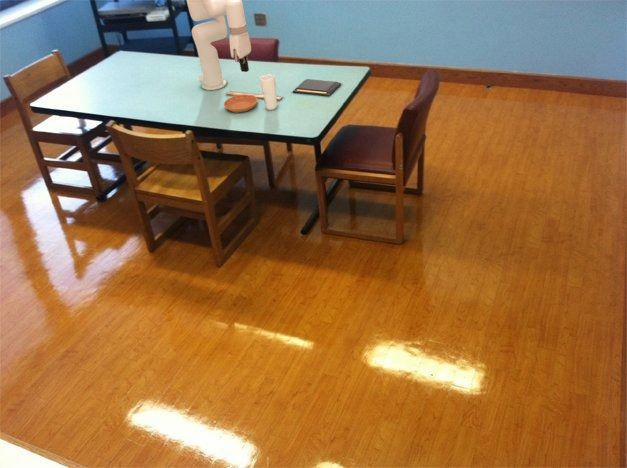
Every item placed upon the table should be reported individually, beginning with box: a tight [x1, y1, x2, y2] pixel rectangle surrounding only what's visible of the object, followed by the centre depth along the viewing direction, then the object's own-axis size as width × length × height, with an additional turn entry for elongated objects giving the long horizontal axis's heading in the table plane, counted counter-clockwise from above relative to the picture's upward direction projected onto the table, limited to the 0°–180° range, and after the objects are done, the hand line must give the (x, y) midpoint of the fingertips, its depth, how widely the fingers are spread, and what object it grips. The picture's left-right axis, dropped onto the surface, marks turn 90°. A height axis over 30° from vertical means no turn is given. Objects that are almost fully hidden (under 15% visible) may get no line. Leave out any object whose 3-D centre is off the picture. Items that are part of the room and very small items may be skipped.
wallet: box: [292, 78, 342, 97], centre depth 293 cm, size 20×2×15 cm
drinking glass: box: [259, 74, 278, 111], centre depth 276 cm, size 7×7×15 cm
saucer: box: [223, 95, 259, 114], centre depth 284 cm, size 16×16×3 cm
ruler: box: [226, 90, 283, 102], centre depth 293 cm, size 30×3×1 cm, turn 65°
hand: (245, 70), depth 266 cm, fingers closed
